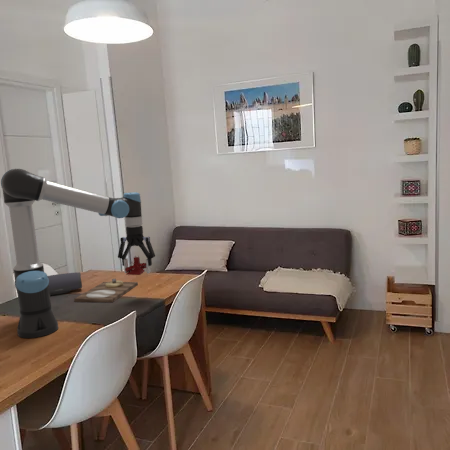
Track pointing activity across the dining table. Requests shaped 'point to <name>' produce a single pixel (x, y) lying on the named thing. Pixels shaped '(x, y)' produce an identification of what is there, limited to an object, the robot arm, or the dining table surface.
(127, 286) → the gear board
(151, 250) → the robot arm
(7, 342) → the dining table surface
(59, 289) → the bluetooth speaker
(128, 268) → the red branched block
